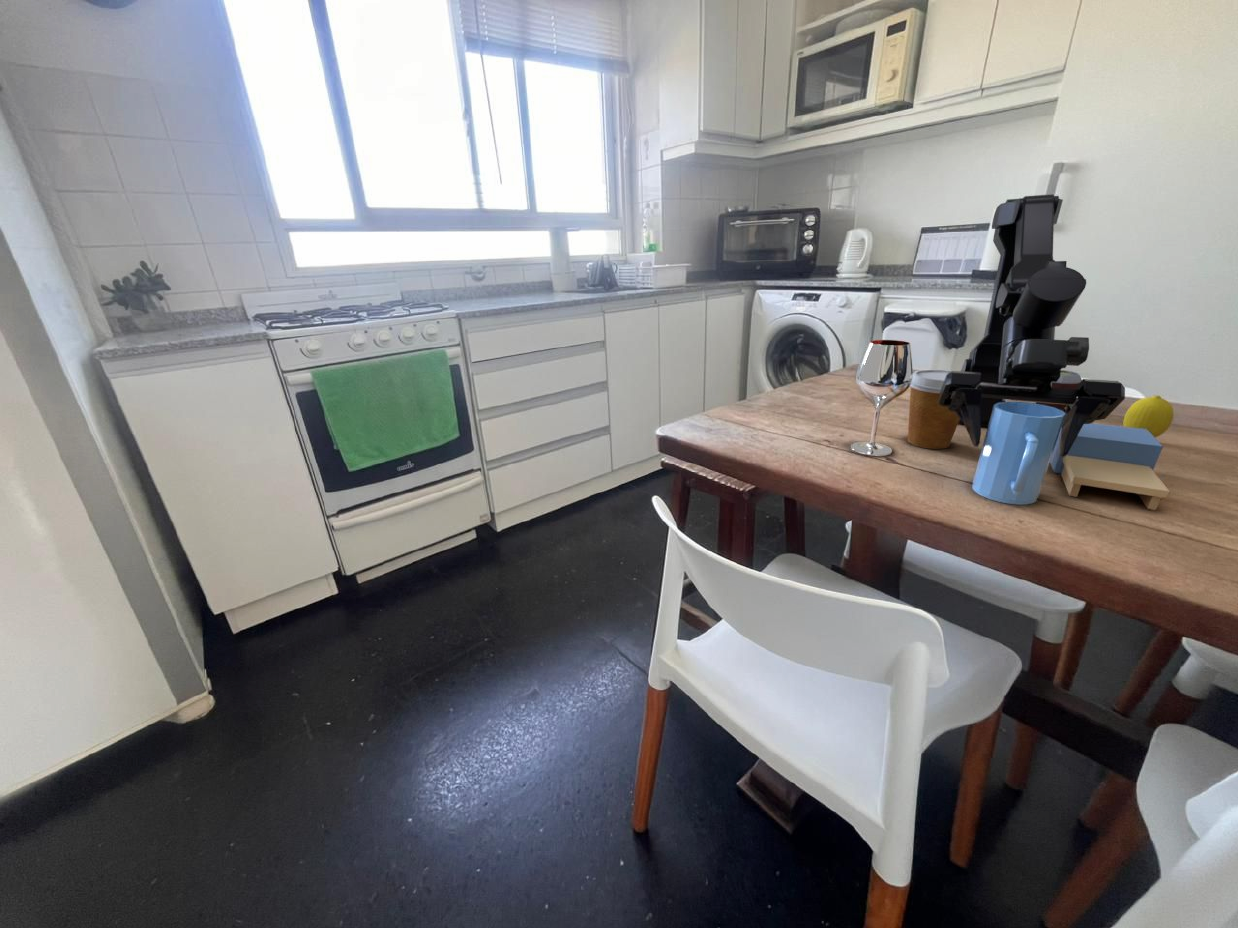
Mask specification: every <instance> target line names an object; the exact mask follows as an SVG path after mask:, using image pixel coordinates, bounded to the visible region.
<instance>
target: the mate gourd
mask: <svg viewBox="0 0 1238 928" xmlns="http://www.w3.org/2000/svg"><path fill="white" fill-rule="evenodd" d="M1082 380H1083V379H1082V377H1081V375H1080V374H1079V373H1078V372H1075V371H1072V370H1071V371H1070V370H1063V369H1061V374H1060V378H1059V379H1058V381H1057V382H1052V388H1060V389H1074V390H1075V388H1076V387H1077V386H1078V385H1079V383H1080V382H1081V381H1082ZM1035 404H1042V405H1046V406H1051V407H1055V408H1057V409H1060V410H1062V411H1064V412H1065V413H1066V405H1064V404H1051V403H1039V402H1035Z"/></svg>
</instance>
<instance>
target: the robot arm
mask: <svg viewBox="0 0 1238 928" xmlns="http://www.w3.org/2000/svg"><path fill="white" fill-rule="evenodd" d="M1063 202H1064V199H1062V198H1060V197H1059V195H1054V194H1053V193H1052V194H1051V193H1050V194H1037V195H1025V196H1023V197H1019V198H1010V199H1009V198H1008V199H1006V201H1005V202H1003V203H1000V204H999V205H998V206H997V207H996V208H995V210H994V214H993V218H992V223H991V230H994V233H993V238H992V239H993V240H992V242H993V244H994V246H995V248H996V250H997V251H998V253H999V255H1000V256H999V261H998V266H997V271H996V276H995V281H994V284H993V285H994V286H993V289H992V295H991V300H990V304H989V309H988V313H987V314H988V315H987V319H986V324H985V328H984V333H983V337H982V338H981V339H980V341H979V342H978V343H977V344H976V345H975V346H974V347H973V348H972V349H971V351H970V352H969V355H968V358H965V359H964V361H963V362H964V363H963V364H962V367H961V369H960V370H959V371H958V370H950V371H951V372H950V373H948V374H947V375H946V377H945V380H944V383H943V385H942V388H941V392H940V397H939V405H941V406H945V407H949V411H951V412H956V413H957V415H958V416H959V418H960V420H959V422H958V425H964V427H965V430H966V432H967V434H968V436H969V439H970V441H971V443H972V444H973V446H974V447H979V445H980V441H981V435H982V427H983V428H988V425H989V421H990V417H991V414H992V410H993V406H994V405H995V404H996V403H1000V402H1007V400H1011V401H1013V402H1028V403H1036V402H1039V403H1051V404H1064V405H1066V407H1065V409H1066V412H1065V413H1066V415H1065V418H1064V421H1063V424H1062V431H1061V440H1060V454H1061V456H1062V457H1065V456H1066V455H1067V454H1068V452H1069V450H1070V449H1071V447H1072V445H1073V443H1074V441H1075V439H1076V437H1077V436H1078V434H1079V432H1080V430H1081V428H1082V426H1083V425H1084V424H1090V423H1094V422H1095V421H1100V420H1104V419H1106V418H1108V416H1109V415H1111V413H1112V412H1113V411H1115V410H1116V409H1117V408H1118V407H1119V405H1120V404H1121V403H1123V401H1125V400H1126V386H1124V385H1123V383H1122V382H1120V381H1118V380H1107V379H1094V378H1093V379H1092V378H1091V379H1090V378H1089V379H1088V378H1083V379H1082V381H1081V382H1080V383H1079V385H1078V386H1077V387H1076V388H1075V390H1074V389H1060V388H1052V382H1057V381H1058V379H1059V378H1060V374H1061V370H1063V369H1066V368H1067V366H1073V367H1074V366H1075V367H1079V366H1080V365H1082V364H1084V363H1085V362H1086V361H1087V360H1088V357H1089V352H1090V337H1084V336H1082V337H1081V336H1071V337H1069V338H1068V339H1055V336H1056V335H1055V334H1056V327H1060V326H1061V325H1063V324H1064V322H1065V320H1066V319H1067V318H1068V315H1069V314H1070V312H1071V311H1072V309H1073V307H1074V306H1075V305H1076V303H1077V301H1078V300H1079V299H1080V296H1081V295H1082V293H1083V292H1084V290H1085V289H1086V286H1087V279H1086V278H1085V277H1084V276H1083V274H1082V273H1081V272H1079V271H1077V270H1076V269H1073V268H1071V267H1067V260H1055V259H1054V231H1055V229H1054V228H1055V227H1054V225H1057V223H1058V220H1059V217H1060V212H1061V210H1062V209H1061V208H1062V205H1063Z"/></svg>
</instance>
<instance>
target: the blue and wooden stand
mask: <svg viewBox="0 0 1238 928" xmlns="http://www.w3.org/2000/svg"><path fill="white" fill-rule="evenodd" d="M1061 431H1062V427H1061V430H1060V433H1059V436H1058V439H1057V442H1056V445H1055V448H1054V451H1053V454H1052V457H1051V460H1050V463H1049V465H1050V466H1051V470H1052V472H1053V473H1056V474H1060V476H1061V478H1062V481H1063V483H1064V486H1065V488H1066V491H1067V493H1068V496H1070V497H1075V498H1077V497H1078V495H1079V492H1080V489H1081V487H1082V486H1087V487H1093V488H1099V489H1106V490H1110V491H1111V490H1112V491H1118V492H1123V493H1124V492H1125V493H1130V494H1131V493H1132V494H1136V495H1137V496H1138V497H1139V499H1140V500H1141V502H1142V503H1143V504H1144V506H1145V507H1146V509H1147V510H1152V511H1156V510H1157V509H1158V507H1159V504H1160V503H1161V499H1162V498H1163V499H1167V498H1168V496H1169V494H1170V490H1169V489H1168V487H1167V486H1166V485H1165V484H1164V483H1163V481H1162V480H1161V479H1160V477H1159V476H1158V475H1157V474H1156V472H1155V471H1154V469H1155V467H1156V464H1157V462H1158V460H1159V458H1160V455H1161V453H1162V451H1163V448H1164V445H1162V443H1160V441H1159V440H1158V439H1157V437H1154V436H1153V435H1152V434H1151V433H1150V432H1149V431H1148V430H1147V429H1140V428H1131V427H1124V426H1122V425H1121V426H1120V425H1111V424H1102V423H1094V422H1093V423H1090V424H1084V425H1083V426H1082V428H1081V430H1080V432H1079V434H1078V436H1077V437H1076V439H1075V441H1074V443H1073V445H1072V447H1071V449H1070V450H1069V452H1068V454H1067V455H1066V456H1065V457H1062V456H1061V454H1060V440H1061Z"/></svg>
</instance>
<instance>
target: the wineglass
mask: <svg viewBox="0 0 1238 928" xmlns="http://www.w3.org/2000/svg"><path fill="white" fill-rule="evenodd" d="M913 365H914V364H913V355H912V346H911V342H910V341H905V340H898V339H877V340H876V339H875V340H874V339H873V340H870V341H869V342H868V344H867V346H866V348H865V350H864V353H863V355H862V357H861V359H860V361H859V364H858V367H857V369H856V373H855V377H854V379H855V384H856V387H857V389H858V390H859V392H860V393H861V394H862V395H863V396H864V397H865V398H866V399H867V400H868V401H869V403H871V405H872V406H873V408H874V411H873V412H874V414H873V419H872V425H871V431H870V435H869V439H868V441H856V442H853V443H851V444H850V450H851V451H853V452H855V453H857V454H860V455H864V456H868V457H869V456H870V457H886V456H889V455H891V454H892V452H893V449H892V448H891V447H890V446H888V445H886V444H883V443H880V442H876V438H877V430H878V425H879V419H880V414H881V410H882V409H883V408H884V407H885V406H886V405H888V404H889V403H891V402H893V401H895V400H896V399H898V398H899V397H901V396H902V395H903V394H905V393H906V392H907V391H908V390H909V389H910V388H911V386H910V385H911V383H912V379H913V373H914V367H913Z"/></svg>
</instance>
